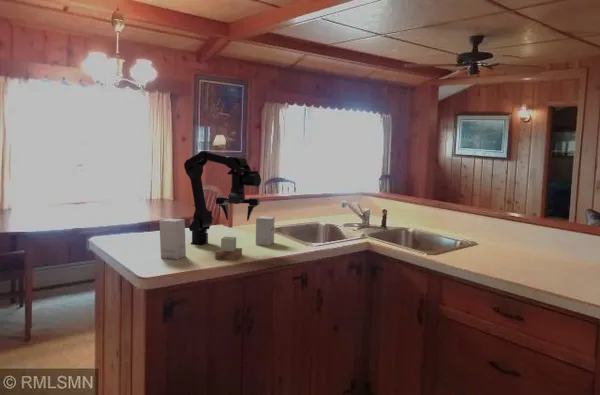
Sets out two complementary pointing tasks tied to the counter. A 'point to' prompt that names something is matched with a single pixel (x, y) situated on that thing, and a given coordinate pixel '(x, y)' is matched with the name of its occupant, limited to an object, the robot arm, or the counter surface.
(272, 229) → the supplement box
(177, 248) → the skincare box
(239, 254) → the walnut block
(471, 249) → the counter surface
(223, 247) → the sage cube
